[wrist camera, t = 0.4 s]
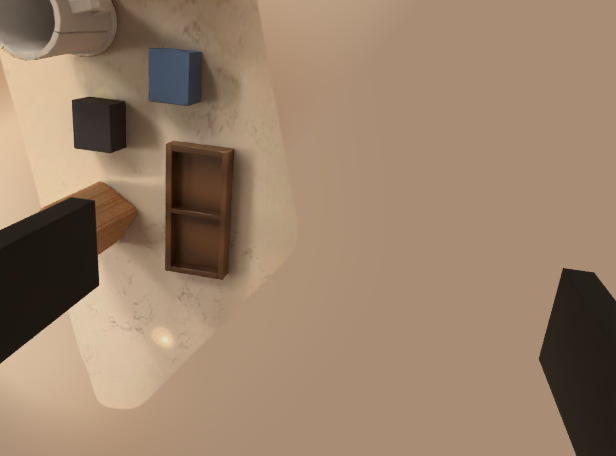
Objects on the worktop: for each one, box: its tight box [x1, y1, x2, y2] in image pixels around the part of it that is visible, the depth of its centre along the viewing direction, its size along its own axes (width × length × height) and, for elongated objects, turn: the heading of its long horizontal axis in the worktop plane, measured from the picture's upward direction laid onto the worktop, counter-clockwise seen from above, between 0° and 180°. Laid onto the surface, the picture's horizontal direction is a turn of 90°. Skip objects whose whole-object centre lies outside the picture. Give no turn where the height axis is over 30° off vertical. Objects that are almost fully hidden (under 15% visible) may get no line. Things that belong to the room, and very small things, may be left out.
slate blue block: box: [149, 48, 202, 106], centre depth 66 cm, size 6×5×4 cm
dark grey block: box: [72, 97, 126, 153], centre depth 70 cm, size 6×5×4 cm
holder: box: [165, 141, 234, 280], centre depth 72 cm, size 17×8×2 cm, turn 175°
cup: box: [0, 0, 117, 60], centre depth 62 cm, size 10×9×12 cm
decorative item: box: [39, 182, 137, 255], centre depth 67 cm, size 7×7×20 cm
